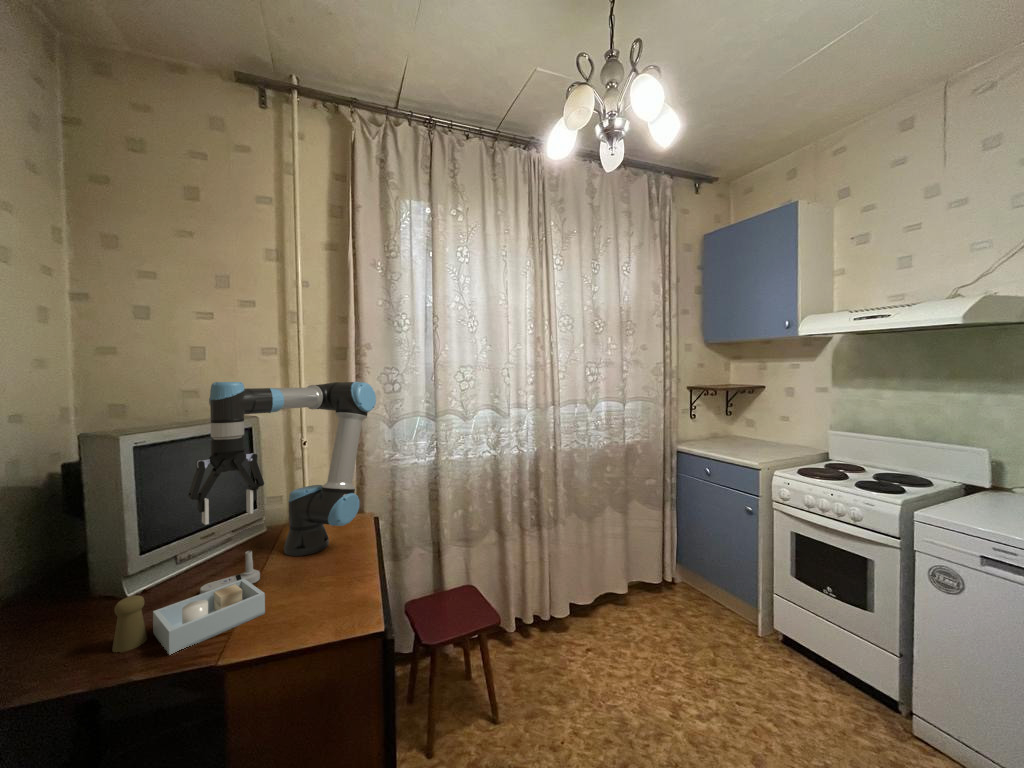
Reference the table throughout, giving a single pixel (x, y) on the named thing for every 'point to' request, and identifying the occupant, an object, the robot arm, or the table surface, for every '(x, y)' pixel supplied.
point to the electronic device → (236, 576)
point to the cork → (129, 624)
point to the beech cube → (227, 597)
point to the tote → (206, 618)
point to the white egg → (194, 610)
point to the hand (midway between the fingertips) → (228, 517)
